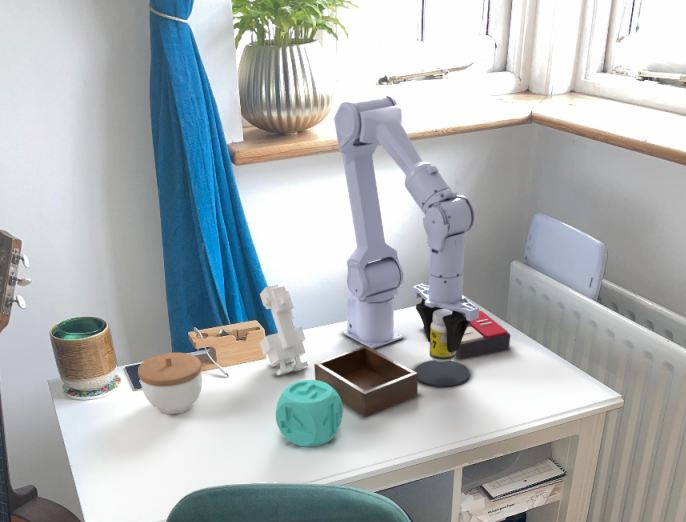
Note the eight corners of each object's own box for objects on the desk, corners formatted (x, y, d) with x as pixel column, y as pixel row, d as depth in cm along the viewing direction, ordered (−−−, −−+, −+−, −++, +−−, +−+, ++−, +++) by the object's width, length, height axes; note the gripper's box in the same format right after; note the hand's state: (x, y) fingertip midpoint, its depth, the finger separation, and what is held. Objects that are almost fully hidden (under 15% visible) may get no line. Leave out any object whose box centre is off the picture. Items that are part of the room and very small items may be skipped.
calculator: (460, 342, 148) (423, 309, 159) (458, 362, 151) (422, 329, 162) (512, 331, 151) (472, 299, 162) (509, 351, 154) (470, 319, 165)
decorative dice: (318, 452, 126) (316, 408, 121) (276, 439, 130) (272, 396, 125) (344, 428, 131) (342, 385, 127) (303, 417, 135) (300, 375, 131)
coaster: (402, 372, 147) (402, 370, 147) (443, 356, 152) (443, 354, 151) (439, 392, 140) (439, 390, 140) (481, 375, 145) (481, 373, 144)
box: (315, 385, 144) (314, 363, 142) (365, 366, 150) (365, 345, 147) (364, 417, 134) (364, 394, 132) (417, 395, 140) (417, 373, 137)
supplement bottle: (427, 351, 146) (428, 308, 141) (452, 349, 146) (454, 306, 141) (432, 363, 142) (434, 319, 137) (458, 361, 142) (461, 317, 137)
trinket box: (217, 396, 142) (211, 348, 137) (184, 425, 134) (176, 376, 129) (167, 386, 146) (159, 339, 141) (132, 414, 138) (123, 365, 133)
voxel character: (287, 366, 140) (261, 284, 140) (268, 380, 151) (244, 305, 151) (323, 356, 142) (297, 276, 142) (302, 371, 153) (278, 297, 153)
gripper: (400, 266, 138) (399, 338, 146) (458, 290, 128) (454, 366, 136) (431, 257, 142) (428, 327, 149) (490, 279, 131) (484, 354, 139)
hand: (442, 345), depth 143 cm, fingers closed on supplement bottle, 5 cm apart
